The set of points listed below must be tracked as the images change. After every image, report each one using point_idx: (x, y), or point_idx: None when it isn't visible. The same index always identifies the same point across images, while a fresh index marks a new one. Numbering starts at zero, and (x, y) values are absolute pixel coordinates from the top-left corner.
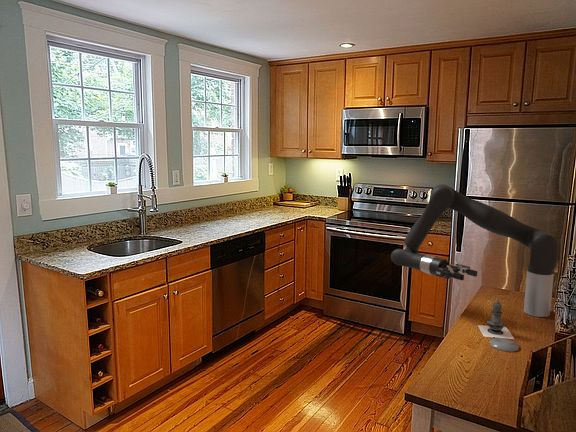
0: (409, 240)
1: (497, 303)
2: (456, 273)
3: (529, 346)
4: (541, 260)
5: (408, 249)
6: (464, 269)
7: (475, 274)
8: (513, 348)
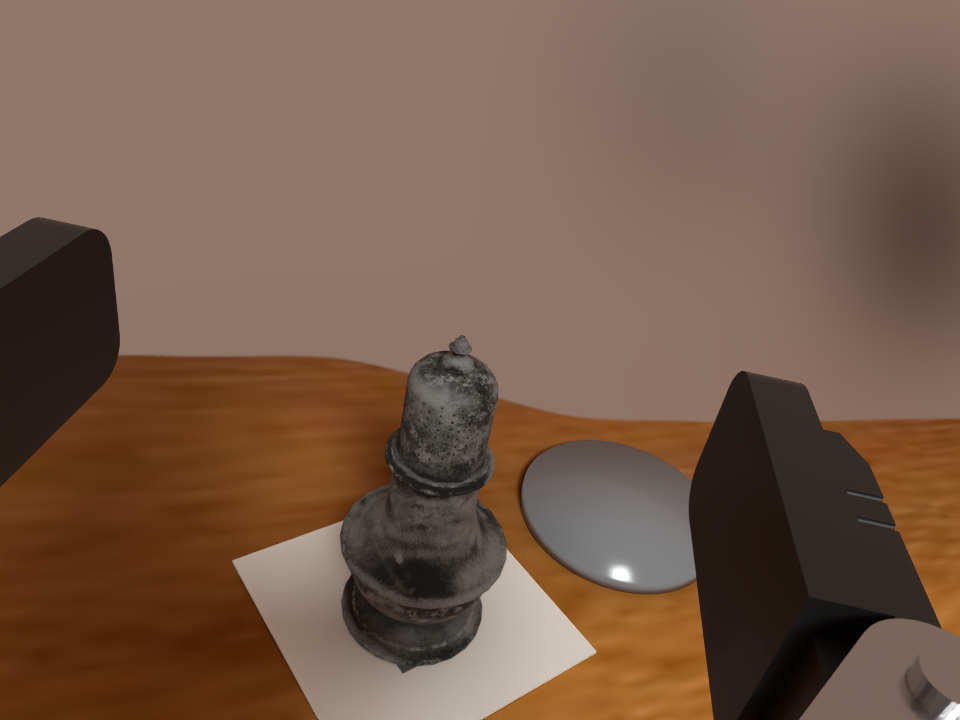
0: None
1: (477, 363)
2: (860, 541)
3: (494, 416)
4: None
5: None
6: None
7: (100, 322)
8: (633, 458)
